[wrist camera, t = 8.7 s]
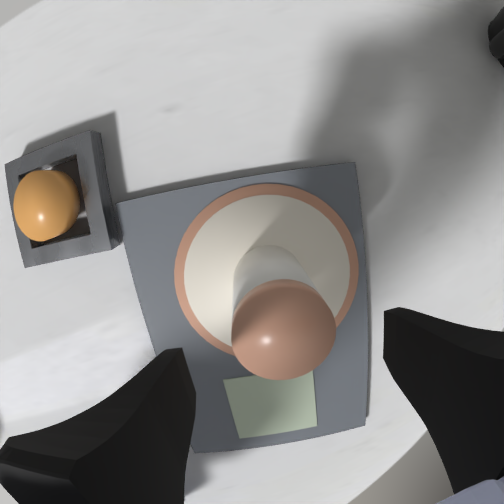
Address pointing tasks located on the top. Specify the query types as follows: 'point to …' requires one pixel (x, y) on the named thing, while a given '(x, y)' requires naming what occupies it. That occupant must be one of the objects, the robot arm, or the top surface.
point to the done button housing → (94, 195)
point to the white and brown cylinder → (278, 316)
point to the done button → (46, 204)
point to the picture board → (221, 297)
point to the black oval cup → (497, 36)
